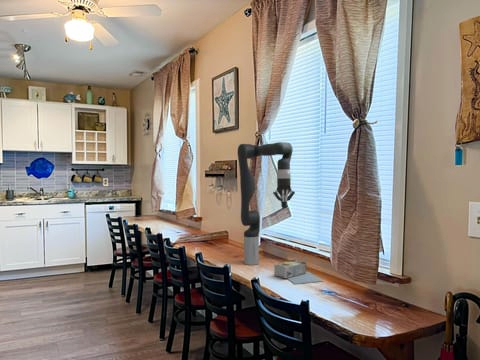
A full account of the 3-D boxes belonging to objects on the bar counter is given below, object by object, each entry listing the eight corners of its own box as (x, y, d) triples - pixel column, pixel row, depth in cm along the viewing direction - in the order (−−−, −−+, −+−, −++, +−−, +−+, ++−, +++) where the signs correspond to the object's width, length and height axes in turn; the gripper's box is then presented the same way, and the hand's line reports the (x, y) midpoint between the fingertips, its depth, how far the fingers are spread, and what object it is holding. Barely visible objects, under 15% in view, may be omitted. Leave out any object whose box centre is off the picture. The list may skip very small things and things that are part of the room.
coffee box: (273, 263, 201) (294, 259, 211) (274, 275, 201) (294, 270, 211) (285, 267, 194) (306, 262, 203) (285, 279, 194) (306, 273, 204)
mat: (281, 274, 203) (281, 274, 203) (307, 272, 207) (307, 271, 207) (294, 284, 186) (294, 283, 186) (323, 281, 190) (323, 280, 190)
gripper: (292, 177, 211) (292, 207, 211) (270, 177, 208) (270, 208, 208) (297, 177, 204) (297, 208, 204) (275, 178, 200) (275, 209, 201)
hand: (284, 208), depth 206 cm, fingers closed
